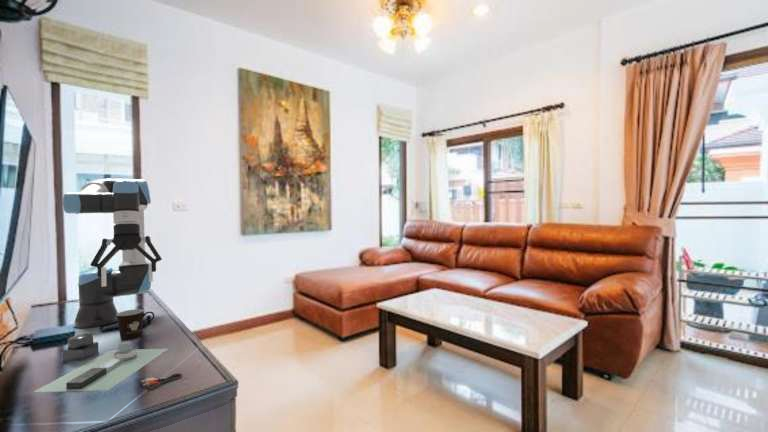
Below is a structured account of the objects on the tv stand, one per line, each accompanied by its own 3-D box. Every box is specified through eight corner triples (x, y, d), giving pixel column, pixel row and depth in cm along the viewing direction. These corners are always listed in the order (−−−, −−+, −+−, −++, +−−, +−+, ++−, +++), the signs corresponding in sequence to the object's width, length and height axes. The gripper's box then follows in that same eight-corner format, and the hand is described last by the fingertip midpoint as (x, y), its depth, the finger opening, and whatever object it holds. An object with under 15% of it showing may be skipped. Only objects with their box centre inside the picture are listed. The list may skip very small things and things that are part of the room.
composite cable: (180, 375, 105) (180, 367, 105) (184, 381, 101) (183, 373, 101) (140, 386, 98) (140, 378, 98) (142, 393, 95) (142, 384, 95)
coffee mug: (114, 344, 129) (114, 317, 129) (119, 336, 137) (118, 311, 137) (152, 338, 135) (151, 312, 134) (155, 331, 142) (154, 306, 142)
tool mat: (110, 351, 123) (110, 350, 123) (168, 349, 123) (168, 348, 123) (33, 393, 95) (32, 392, 95) (108, 391, 95) (108, 390, 95)
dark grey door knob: (79, 354, 121) (78, 333, 121) (98, 353, 121) (97, 333, 121) (63, 362, 114) (62, 340, 114) (83, 361, 115) (82, 340, 114)
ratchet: (122, 354, 119) (122, 339, 119) (141, 353, 119) (140, 339, 119) (62, 389, 96) (62, 371, 96) (85, 388, 96) (84, 370, 96)
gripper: (78, 224, 117) (79, 289, 115) (166, 220, 128) (168, 279, 126) (86, 227, 124) (86, 288, 121) (168, 223, 135) (170, 279, 132)
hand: (128, 284), depth 124 cm, fingers open, 13 cm apart
